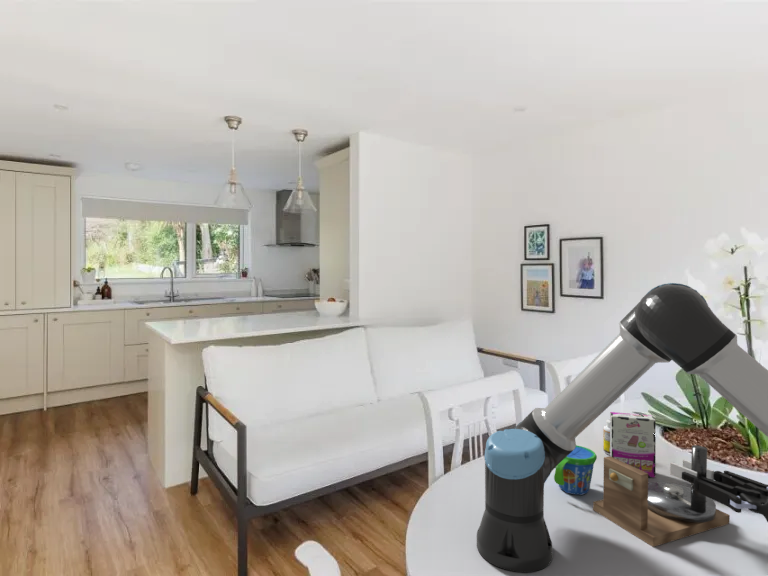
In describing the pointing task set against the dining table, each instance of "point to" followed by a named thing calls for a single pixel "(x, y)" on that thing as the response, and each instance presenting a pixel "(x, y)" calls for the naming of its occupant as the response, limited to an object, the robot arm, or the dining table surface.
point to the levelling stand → (642, 507)
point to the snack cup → (576, 471)
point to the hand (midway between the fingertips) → (677, 466)
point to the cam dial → (683, 495)
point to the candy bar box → (633, 440)
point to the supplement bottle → (607, 438)
